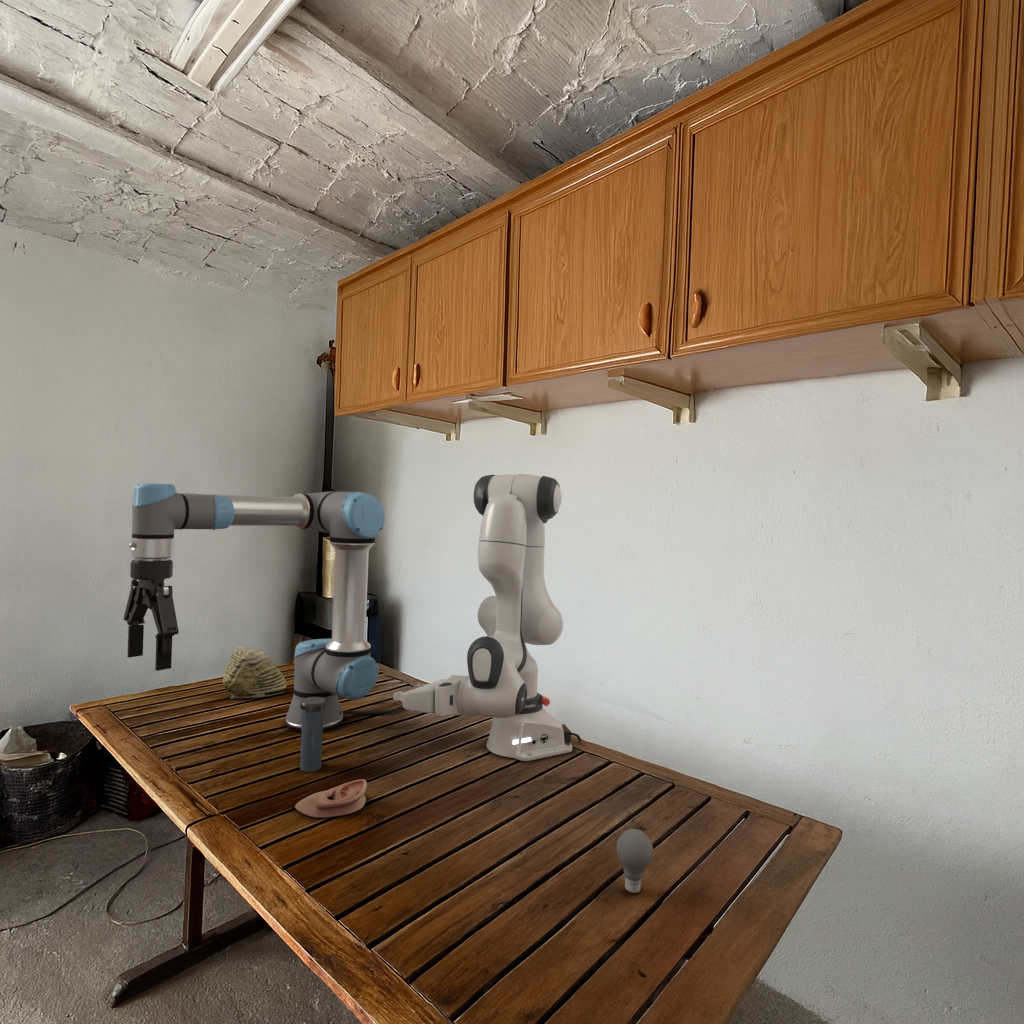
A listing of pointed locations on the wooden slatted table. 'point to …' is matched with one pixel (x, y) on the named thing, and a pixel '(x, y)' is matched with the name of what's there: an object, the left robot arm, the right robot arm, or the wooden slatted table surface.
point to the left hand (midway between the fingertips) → (148, 662)
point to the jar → (311, 740)
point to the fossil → (252, 674)
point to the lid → (312, 704)
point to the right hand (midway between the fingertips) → (405, 691)
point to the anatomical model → (335, 800)
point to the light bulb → (634, 857)
